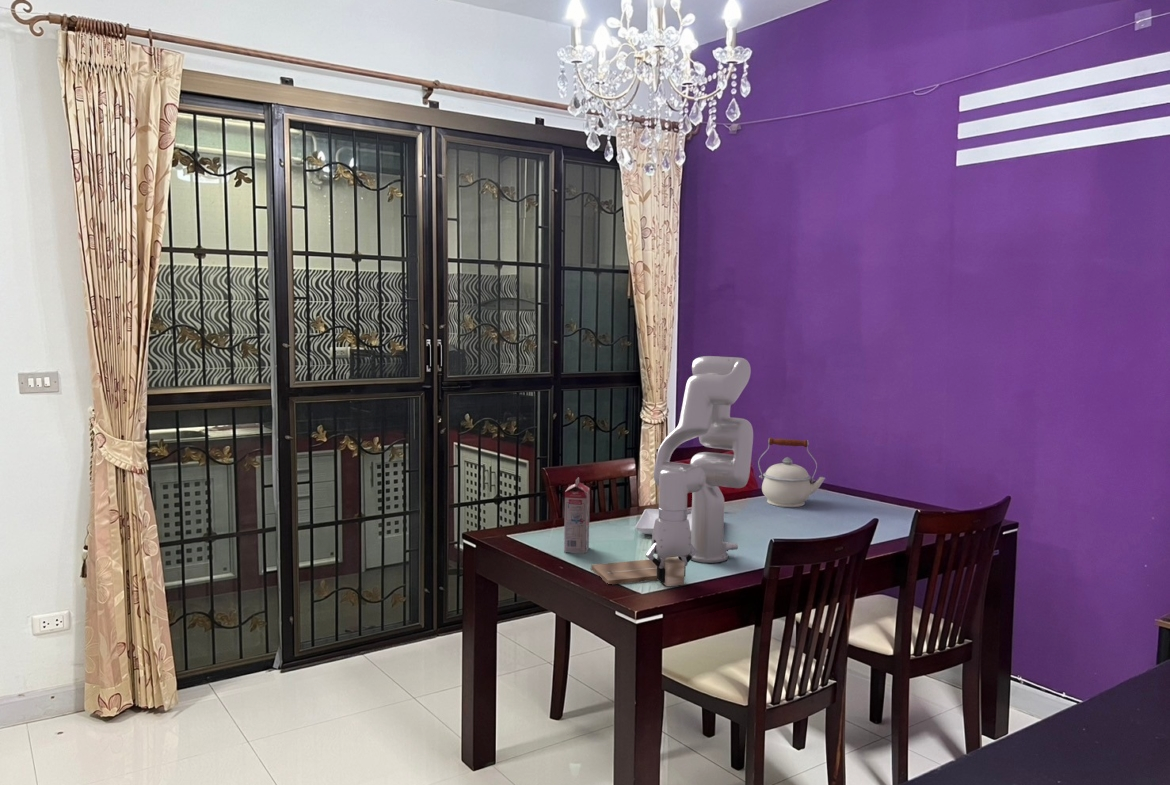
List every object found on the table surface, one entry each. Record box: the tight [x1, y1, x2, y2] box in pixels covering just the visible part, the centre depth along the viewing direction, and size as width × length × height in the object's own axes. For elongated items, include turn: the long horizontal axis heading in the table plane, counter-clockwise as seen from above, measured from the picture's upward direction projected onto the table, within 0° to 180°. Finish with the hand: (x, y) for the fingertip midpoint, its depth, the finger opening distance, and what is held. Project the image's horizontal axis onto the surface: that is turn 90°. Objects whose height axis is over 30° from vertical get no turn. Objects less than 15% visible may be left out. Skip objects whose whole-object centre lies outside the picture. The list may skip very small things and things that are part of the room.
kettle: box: [757, 437, 826, 508], centre depth 319 cm, size 25×18×25 cm
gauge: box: [662, 557, 686, 587], centre depth 228 cm, size 5×12×6 cm, turn 19°
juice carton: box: [563, 476, 591, 554], centre depth 254 cm, size 7×7×22 cm
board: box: [590, 559, 659, 585], centre depth 233 cm, size 22×14×1 cm, turn 109°
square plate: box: [634, 508, 692, 536], centre depth 280 cm, size 27×27×4 cm
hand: (670, 579), depth 226 cm, fingers closed on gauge, 5 cm apart
